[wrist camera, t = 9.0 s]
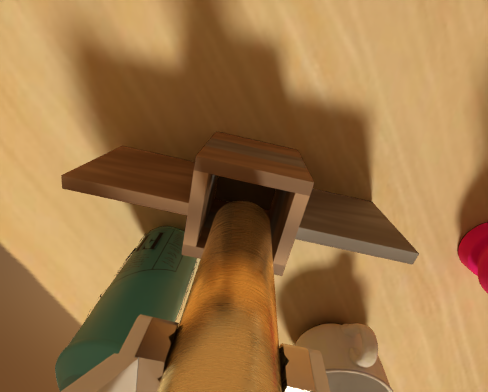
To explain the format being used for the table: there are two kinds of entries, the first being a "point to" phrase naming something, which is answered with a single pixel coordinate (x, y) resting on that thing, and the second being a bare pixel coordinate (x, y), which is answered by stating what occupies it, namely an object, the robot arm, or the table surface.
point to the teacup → (348, 357)
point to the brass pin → (229, 311)
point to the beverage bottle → (130, 302)
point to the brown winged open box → (206, 206)
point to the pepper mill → (476, 253)
